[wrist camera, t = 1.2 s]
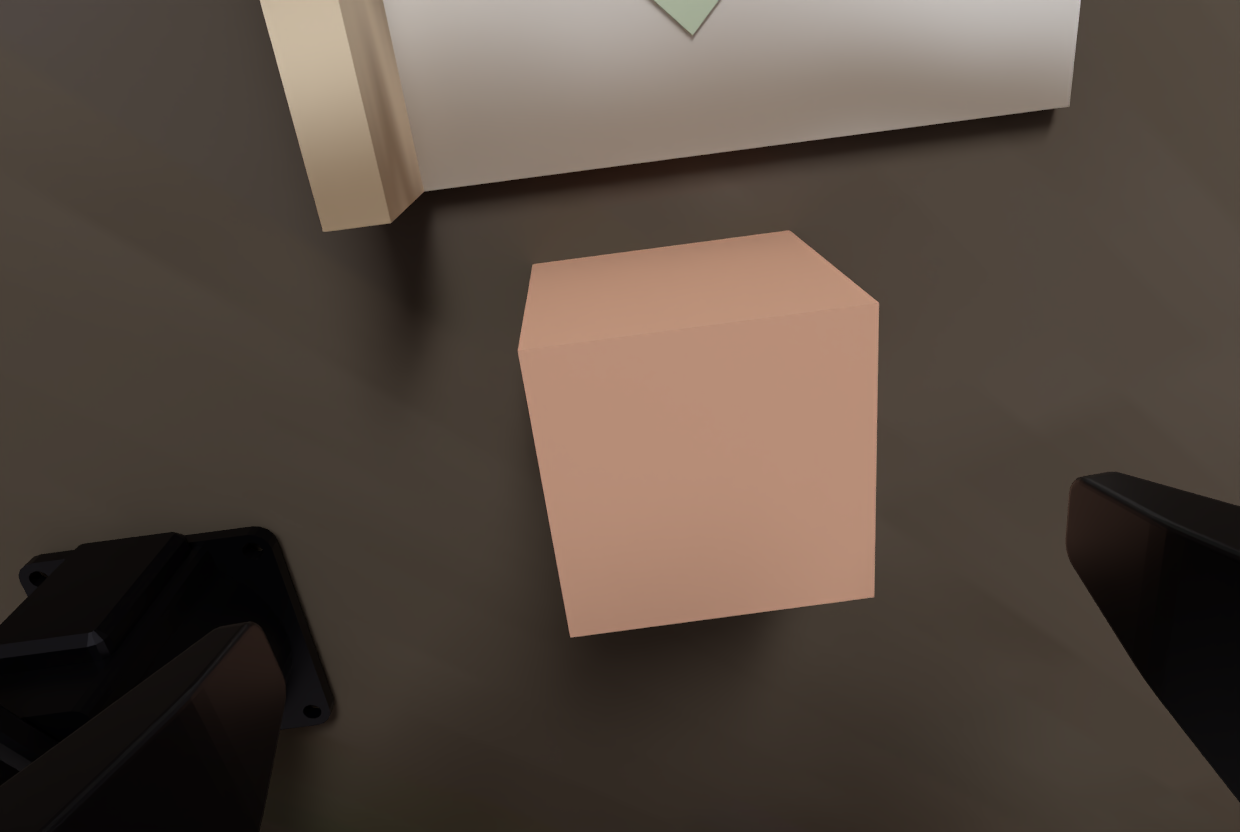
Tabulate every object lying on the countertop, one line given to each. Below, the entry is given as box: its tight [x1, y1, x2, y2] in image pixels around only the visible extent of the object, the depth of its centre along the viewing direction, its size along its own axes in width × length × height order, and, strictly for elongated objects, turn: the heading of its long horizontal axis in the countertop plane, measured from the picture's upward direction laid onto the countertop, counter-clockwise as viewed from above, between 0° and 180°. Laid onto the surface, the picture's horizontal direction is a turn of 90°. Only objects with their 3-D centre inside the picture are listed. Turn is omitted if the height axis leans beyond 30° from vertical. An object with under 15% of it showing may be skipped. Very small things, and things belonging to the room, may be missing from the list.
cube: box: [518, 230, 879, 638], centre depth 17 cm, size 6×6×6 cm
